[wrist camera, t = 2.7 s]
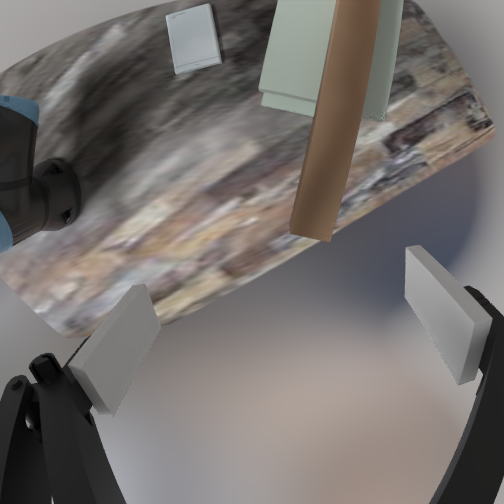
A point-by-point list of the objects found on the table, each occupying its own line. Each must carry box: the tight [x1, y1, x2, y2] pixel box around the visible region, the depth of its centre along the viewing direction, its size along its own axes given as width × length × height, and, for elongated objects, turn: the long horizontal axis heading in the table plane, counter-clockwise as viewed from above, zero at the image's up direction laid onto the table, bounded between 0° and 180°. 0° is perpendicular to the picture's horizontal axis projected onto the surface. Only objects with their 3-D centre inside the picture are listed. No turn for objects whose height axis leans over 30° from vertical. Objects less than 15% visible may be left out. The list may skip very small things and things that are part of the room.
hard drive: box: [166, 4, 222, 75], centre depth 44 cm, size 2×8×12 cm
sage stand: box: [258, 0, 403, 121], centre depth 32 cm, size 13×16×29 cm
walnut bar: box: [289, 0, 381, 242], centre depth 19 cm, size 3×24×2 cm, turn 169°
